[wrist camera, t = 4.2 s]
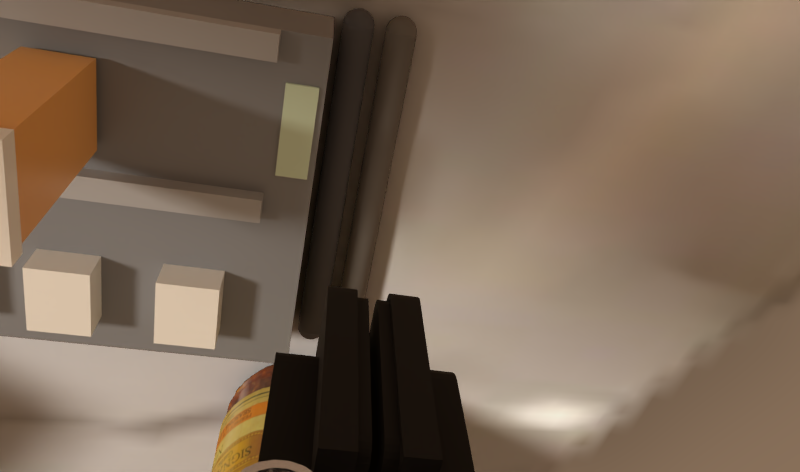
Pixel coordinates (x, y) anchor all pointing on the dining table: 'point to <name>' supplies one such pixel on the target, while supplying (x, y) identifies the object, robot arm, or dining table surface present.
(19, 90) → the lever
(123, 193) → the breaker panel
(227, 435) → the sauce bottle
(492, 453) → the dining table surface
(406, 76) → the dark brown grooved strip
